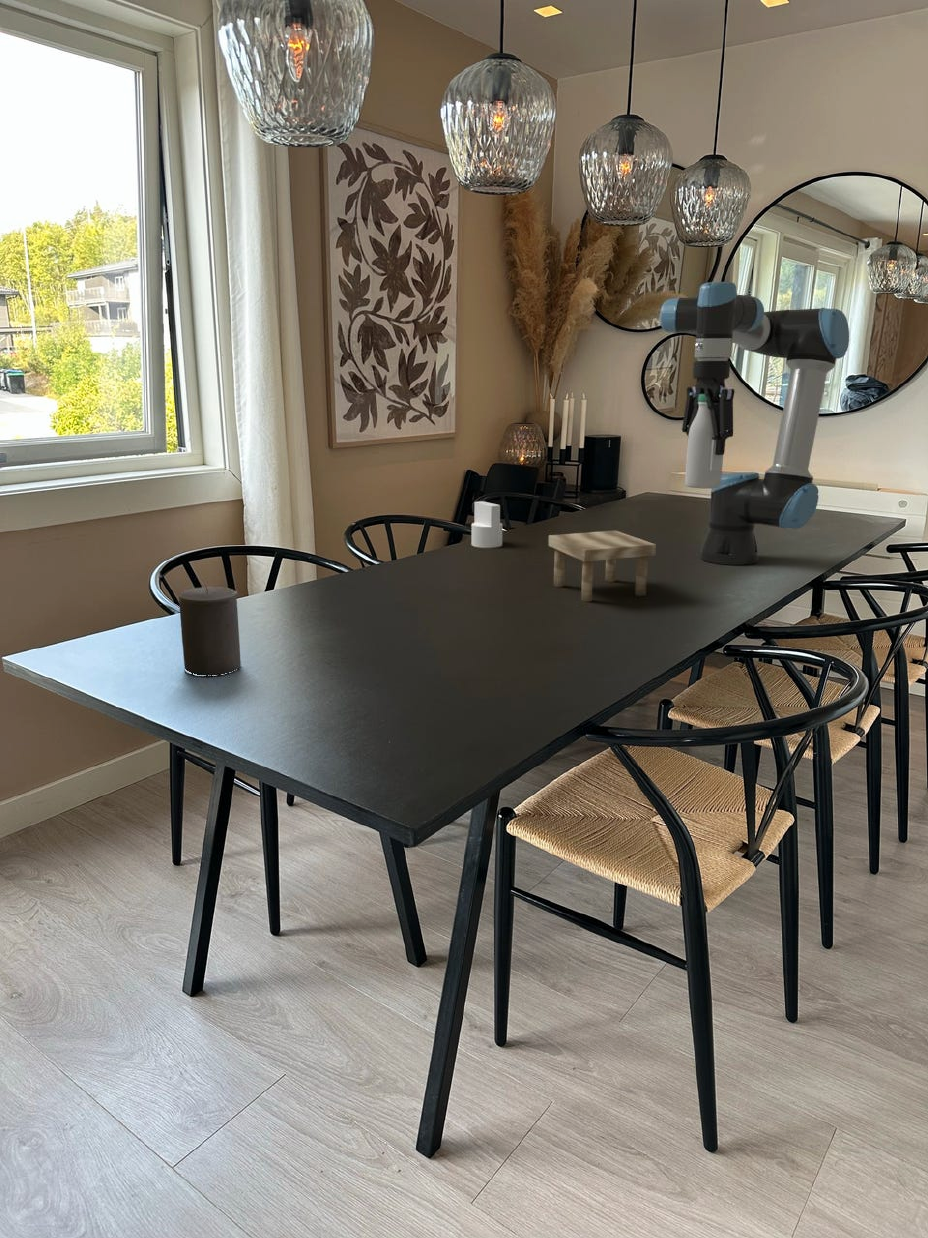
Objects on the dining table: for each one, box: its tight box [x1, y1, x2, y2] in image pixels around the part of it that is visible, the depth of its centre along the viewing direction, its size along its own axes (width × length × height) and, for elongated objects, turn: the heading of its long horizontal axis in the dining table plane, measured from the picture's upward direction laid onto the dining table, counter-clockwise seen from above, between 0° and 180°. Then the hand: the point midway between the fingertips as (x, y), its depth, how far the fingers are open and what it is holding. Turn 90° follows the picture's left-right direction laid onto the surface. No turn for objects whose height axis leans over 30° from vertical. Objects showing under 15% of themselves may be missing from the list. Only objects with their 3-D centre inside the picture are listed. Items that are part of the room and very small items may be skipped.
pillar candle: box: [178, 585, 242, 676], centre depth 155 cm, size 10×10×15 cm
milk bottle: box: [684, 394, 723, 490], centre depth 194 cm, size 8×8×20 cm
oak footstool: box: [548, 530, 657, 603], centre depth 207 cm, size 18×18×12 cm
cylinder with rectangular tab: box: [470, 500, 503, 549], centre depth 257 cm, size 9×9×12 cm
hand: (704, 467), depth 195 cm, fingers closed on milk bottle, 8 cm apart
